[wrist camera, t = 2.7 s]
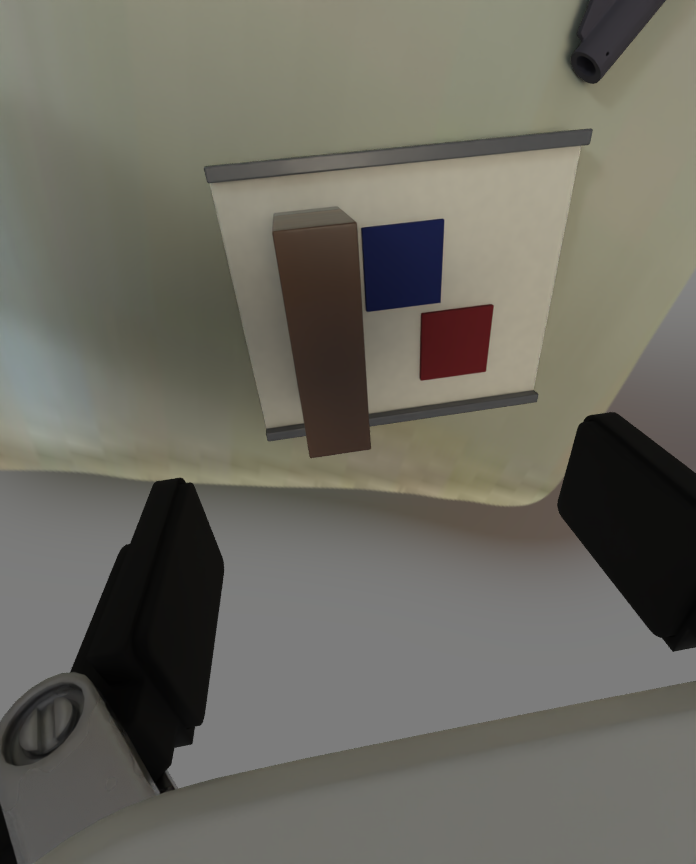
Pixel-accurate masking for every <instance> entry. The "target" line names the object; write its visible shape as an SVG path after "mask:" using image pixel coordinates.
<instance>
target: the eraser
mask: <svg viewBox="0 0 696 864" xmlns="http://www.w3.org/2000/svg"><path fill="white" fill-rule="evenodd" d="M272 236H273V242H274V248H275V254H276V260H277V266H278V272H279V277H280V283H281V289H282V295H283V301H284V307H285V313H286V319H287V325H288V331H289V337H290V343H291V349H292V355H293V361H294V367H295V373H296V379H297V385H298V391H299V396H300V402H301V408H302V414H303V420H304V426H305V432H306V438H307V444H308V450H309V456H310V458H316V457H322V456H329V455H335V454H342V453H349V452H355V451H362V450H369V449H371V442H370V425H369V409H368V393H367V376H366V360H365V344H364V327H363V311H362V295H361V278H360V262H359V246H358V229H357V222H356V221H354V220H353V219H352V218H351V217H350V216H349V215H347V214H346V213H345V212H344V211H343V210H341V209H340V208H339V207H337V206H335V207H326V208H316V209H307V210H298V211H289V212H279V213H274V214H273V226H272Z"/></svg>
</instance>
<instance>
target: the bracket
mask: <svg viewBox="0 0 696 864" xmlns="http://www.w3.org/2000/svg"><path fill="white" fill-rule="evenodd" d="M665 1H666V0H590V1H589V4H588V6H587V9H586V11H585V14H584V16H583V19H582V21H581V24H580V26H579V29H578V32H577V36H578V38H579V39H580V40H581V44H580V45H579V46H578V48H577V49H576V50H575V51H574V53H573V54H572V56H571V65H572V67H573V69H574V71H575V73H576V74H577V75H578V76H579V77H580V78H581V79H582V80H584V81H586V82H588V83H592V84H594V83H597V82H598V81H600V79H601V78H602V77H603V76H604V75H605V73H606V72H607V71H608V70H609V69H610V67H611V66H612V65H613V64H614V63H615V61H616V60H617V59H618V58H619V56H620V55H621V54H622V53H623V52H624V50H625V49H626V48H627V47H628V46H629V44H630V43H631V42H632V41H633V40H634V38H635V37H636V36H637V35H638V33H639V32H640V31H641V30H642V29H643V27H644V26H645V25H646V24H647V23H648V21H649V20H650V19H651V18H652V16H653V15H654V14H655V13H656V12H657V10H658V9H659V8H660V7H661V6H662V4H663V3H664V2H665Z"/></svg>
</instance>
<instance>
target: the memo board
mask: <svg viewBox="0 0 696 864" xmlns="http://www.w3.org/2000/svg"><path fill="white" fill-rule="evenodd" d="M592 131H593V130H592V129H580V130H568V131H557V132H547V133H537V134H527V135H517V136H506V137H496V138H486V139H476V140H466V141H456V142H445V143H435V144H425V145H415V146H405V147H394V148H384V149H374V150H364V151H354V152H344V153H333V154H323V155H313V156H303V157H293V158H283V159H272V160H262V161H252V162H242V163H232V164H222V165H212V166H205V167H204V171H205V175H206V180H207V182H208V183H210V188H211V192H212V196H213V200H214V205H215V209H216V213H217V218H218V222H219V226H220V231H221V235H222V239H223V244H224V248H225V252H226V257H227V261H228V265H229V270H230V274H231V278H232V283H233V287H234V291H235V295H236V300H237V304H238V308H239V313H240V317H241V321H242V326H243V330H244V334H245V339H246V343H247V347H248V352H249V356H250V360H251V365H252V369H253V373H254V378H255V382H256V386H257V390H258V395H259V399H260V403H261V408H262V412H263V416H264V421H265V425H266V436H267V440H268V441H275V440H281V439H288V438H295V437H302V436H306V432H305V426H304V420H303V414H302V408H301V402H300V396H299V391H298V385H297V379H296V373H295V367H294V361H293V355H292V349H291V343H290V337H289V331H288V325H287V319H286V313H285V307H284V301H283V295H282V289H281V283H280V277H279V272H278V266H277V260H276V254H275V248H274V242H273V236H272V226H273V214H274V213H279V212H289V211H298V210H307V209H316V208H326V207H335V206H337V207H339V208H340V209H341V210H343V211H344V212H345V213H346V214H347V215H349V216H350V217H351V218H352V219H353V220H354V221H356V222H357V229H358V246H359V262H360V278H361V295H362V311H363V327H364V344H365V360H366V376H367V393H368V409H369V425H370V426H377V425H384V424H390V423H397V422H404V421H411V420H418V419H424V418H431V417H438V416H445V415H452V414H458V413H465V412H472V411H479V410H486V409H492V408H499V407H506V406H513V405H520V404H527V403H533V402H537V399H538V393H537V392H535V391H534V384H535V379H536V374H537V369H538V364H539V359H540V354H541V349H542V344H543V339H544V333H545V328H546V323H547V318H548V313H549V308H550V303H551V298H552V293H553V288H554V282H555V277H556V272H557V267H558V262H559V257H560V252H561V247H562V242H563V236H564V231H565V226H566V221H567V216H568V211H569V206H570V201H571V196H572V191H573V185H574V180H575V175H576V170H577V165H578V160H579V155H580V150H581V146H583V145H589V144H590V141H591V136H592ZM434 219H444V242H443V264H442V285H441V303H435V304H427V305H419V306H412V307H404V308H396V309H388V310H380V311H372V312H367V311H366V304H365V287H364V269H363V251H362V234H361V228H362V227H371V226H380V225H389V224H398V223H407V222H416V221H425V220H434ZM488 304H492V305H494V309H493V317H492V326H491V334H490V342H489V351H488V359H487V367H486V372H481V373H474V374H467V375H460V376H453V377H445V378H438V379H431V380H424V381H421V380H420V337H421V313H426V312H433V311H441V310H449V309H457V308H465V307H472V306H480V305H488Z"/></svg>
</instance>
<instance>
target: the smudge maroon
mask: <svg viewBox="0 0 696 864" xmlns="http://www.w3.org/2000/svg"><path fill="white" fill-rule="evenodd" d="M493 309H494V305H492V304H488V305H480V306H472V307H465V308H457V309H449V310H441V311H433V312H426V313H421V337H420V380H421V381H424V380H431V379H438V378H445V377H453V376H460V375H467V374H474V373H481V372H486V367H487V359H488V351H489V342H490V334H491V326H492V317H493Z"/></svg>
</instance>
